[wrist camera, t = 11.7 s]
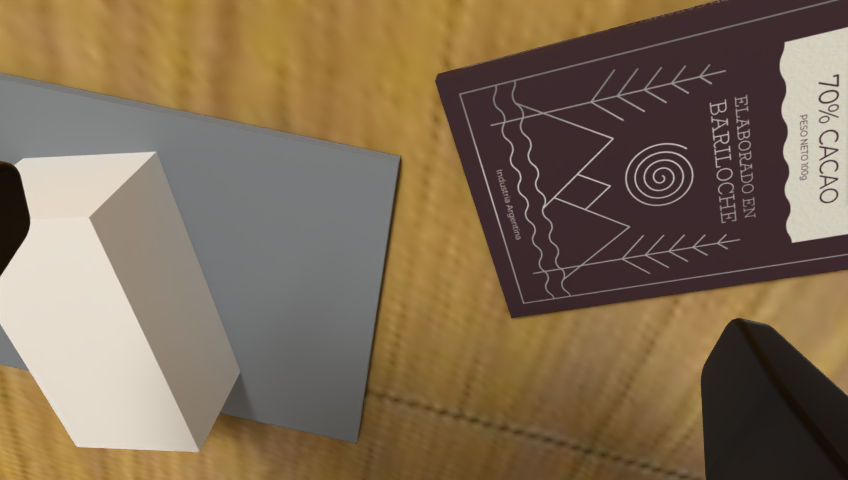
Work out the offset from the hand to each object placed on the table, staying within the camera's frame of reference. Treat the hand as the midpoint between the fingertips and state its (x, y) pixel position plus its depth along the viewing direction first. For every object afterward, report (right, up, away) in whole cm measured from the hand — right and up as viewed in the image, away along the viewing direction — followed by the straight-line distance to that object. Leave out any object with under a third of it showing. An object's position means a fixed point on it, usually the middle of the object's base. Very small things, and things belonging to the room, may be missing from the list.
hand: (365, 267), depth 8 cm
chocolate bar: (+11, +3, +11) cm, 16 cm away
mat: (-10, -1, +17) cm, 20 cm away
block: (-10, -1, +17) cm, 19 cm away
